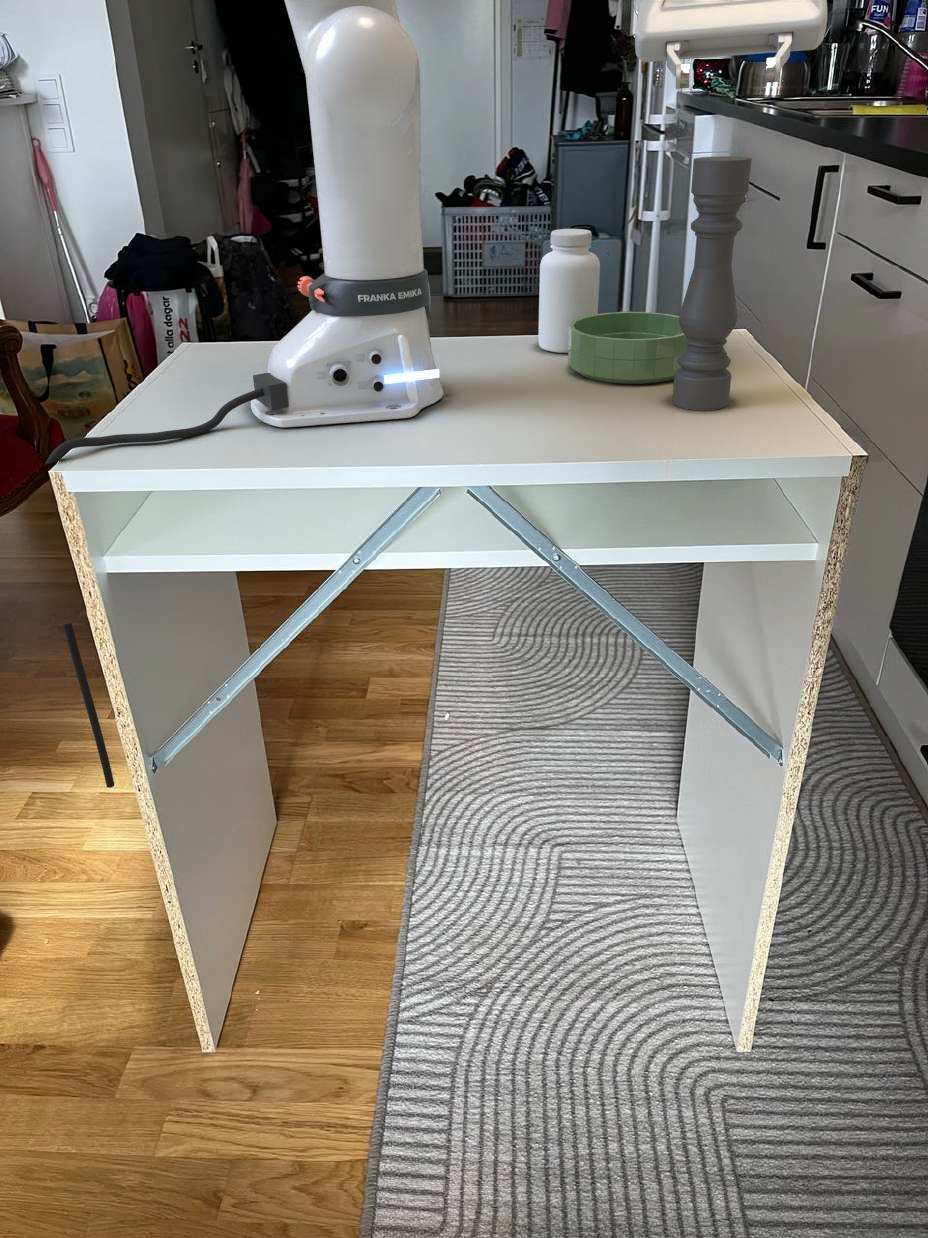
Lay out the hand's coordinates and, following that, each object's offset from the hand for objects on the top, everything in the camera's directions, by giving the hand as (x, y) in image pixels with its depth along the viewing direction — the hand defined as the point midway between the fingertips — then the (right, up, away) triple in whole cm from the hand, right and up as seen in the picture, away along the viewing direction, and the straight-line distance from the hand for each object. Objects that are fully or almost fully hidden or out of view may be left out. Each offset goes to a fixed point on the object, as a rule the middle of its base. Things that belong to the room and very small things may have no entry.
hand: (726, 81), depth 105 cm
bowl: (-7, -27, +18) cm, 33 cm away
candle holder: (-2, -34, +5) cm, 34 cm away
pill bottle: (-14, -21, +29) cm, 38 cm away
